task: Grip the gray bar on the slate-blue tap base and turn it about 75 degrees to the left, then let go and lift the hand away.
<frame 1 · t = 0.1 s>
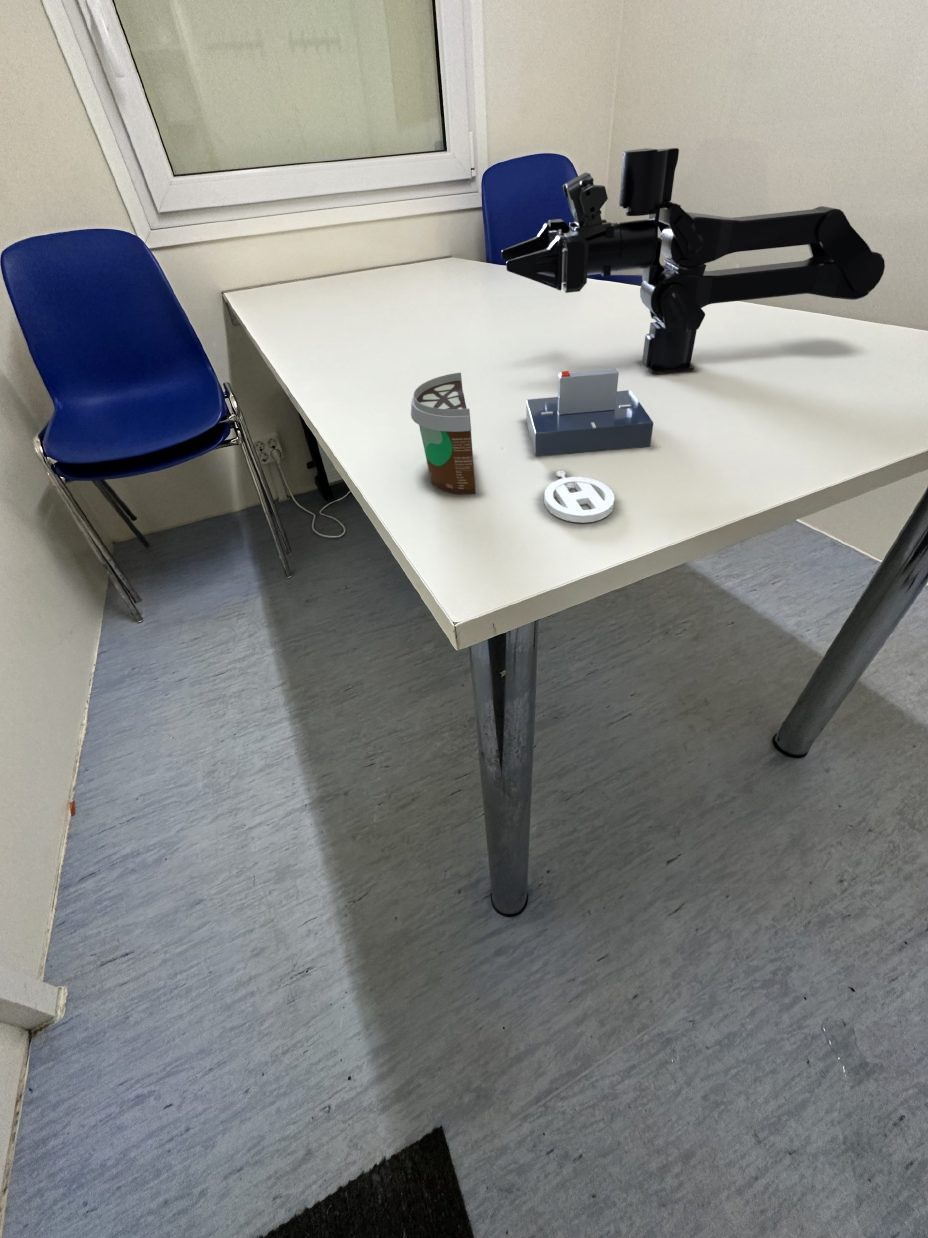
hand: (504, 260, 76), 17 cm above the table, tool horizontal, fingers open, 9 cm apart
pendant: (573, 497, 59), on the table
food container: (446, 479, 65), on the table
tap base: (584, 433, 71), on the table
gray bar: (587, 390, 67), point 5 cm above the table, hinge at 0.0°
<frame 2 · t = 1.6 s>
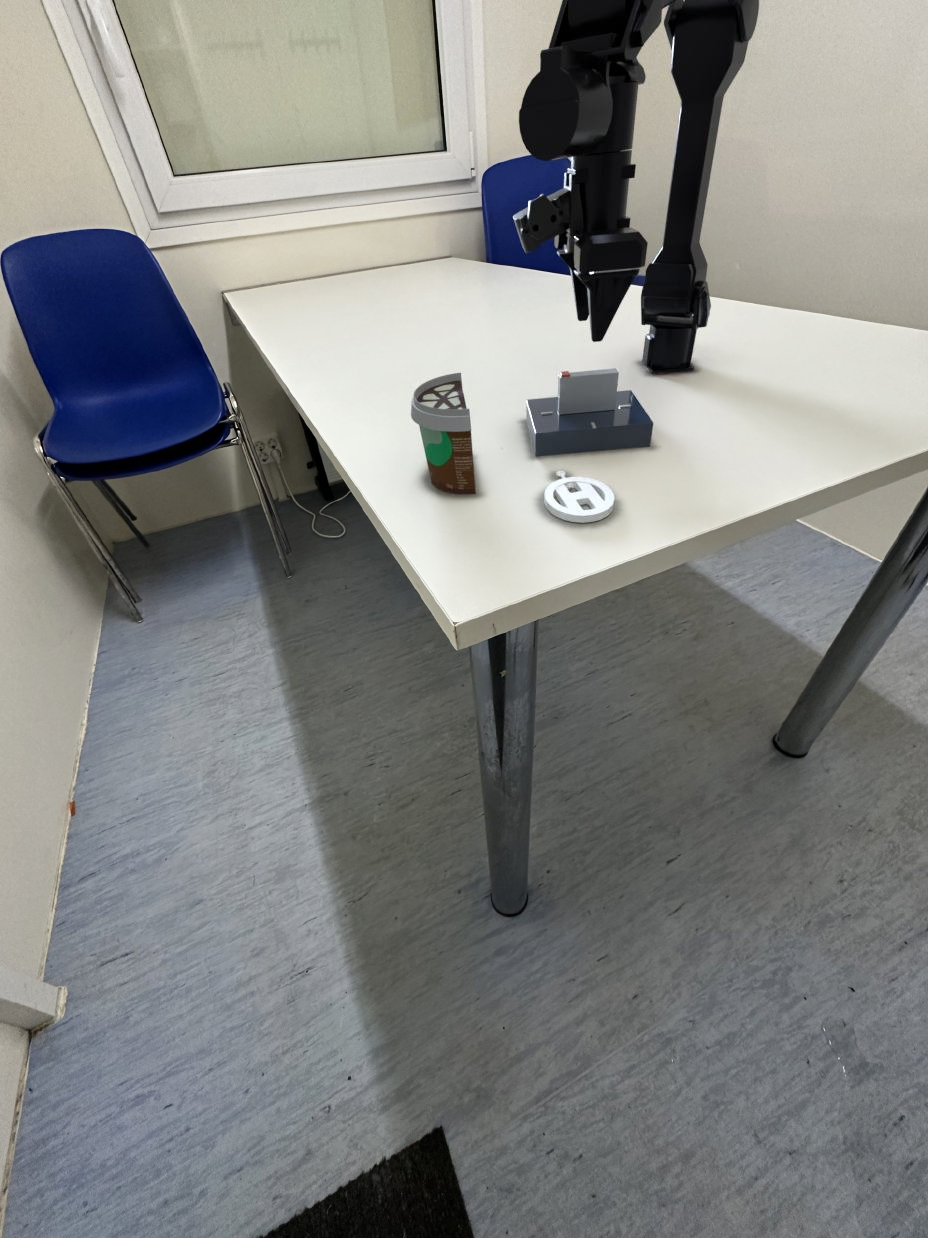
hand: (589, 330, 63), 12 cm above the table, tool pointing down, fingers open, 9 cm apart
nothing on the table moved.
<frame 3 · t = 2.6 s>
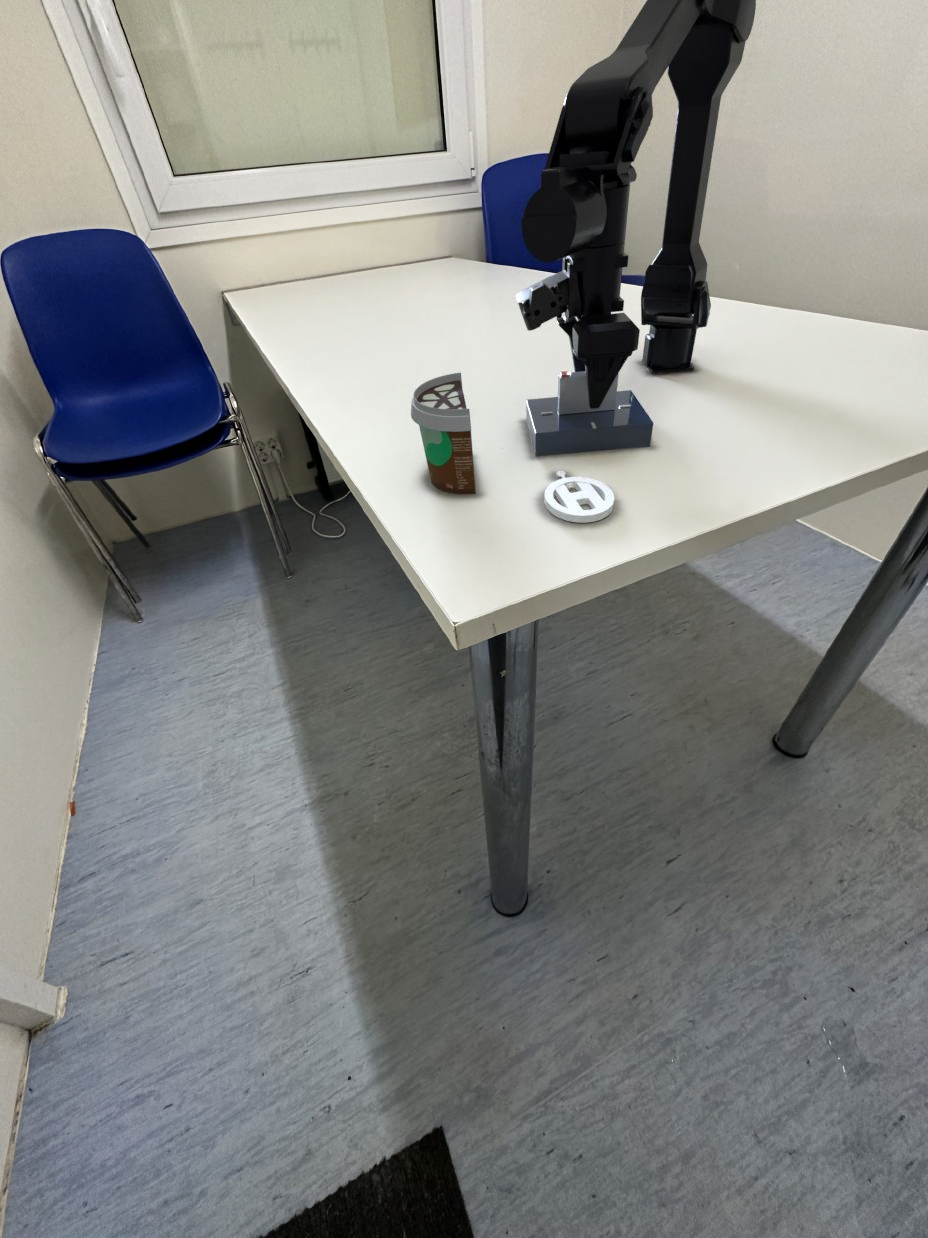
hand: (587, 393, 67), 5 cm above the table, tool pointing down, fingers open, 9 cm apart
nothing on the table moved.
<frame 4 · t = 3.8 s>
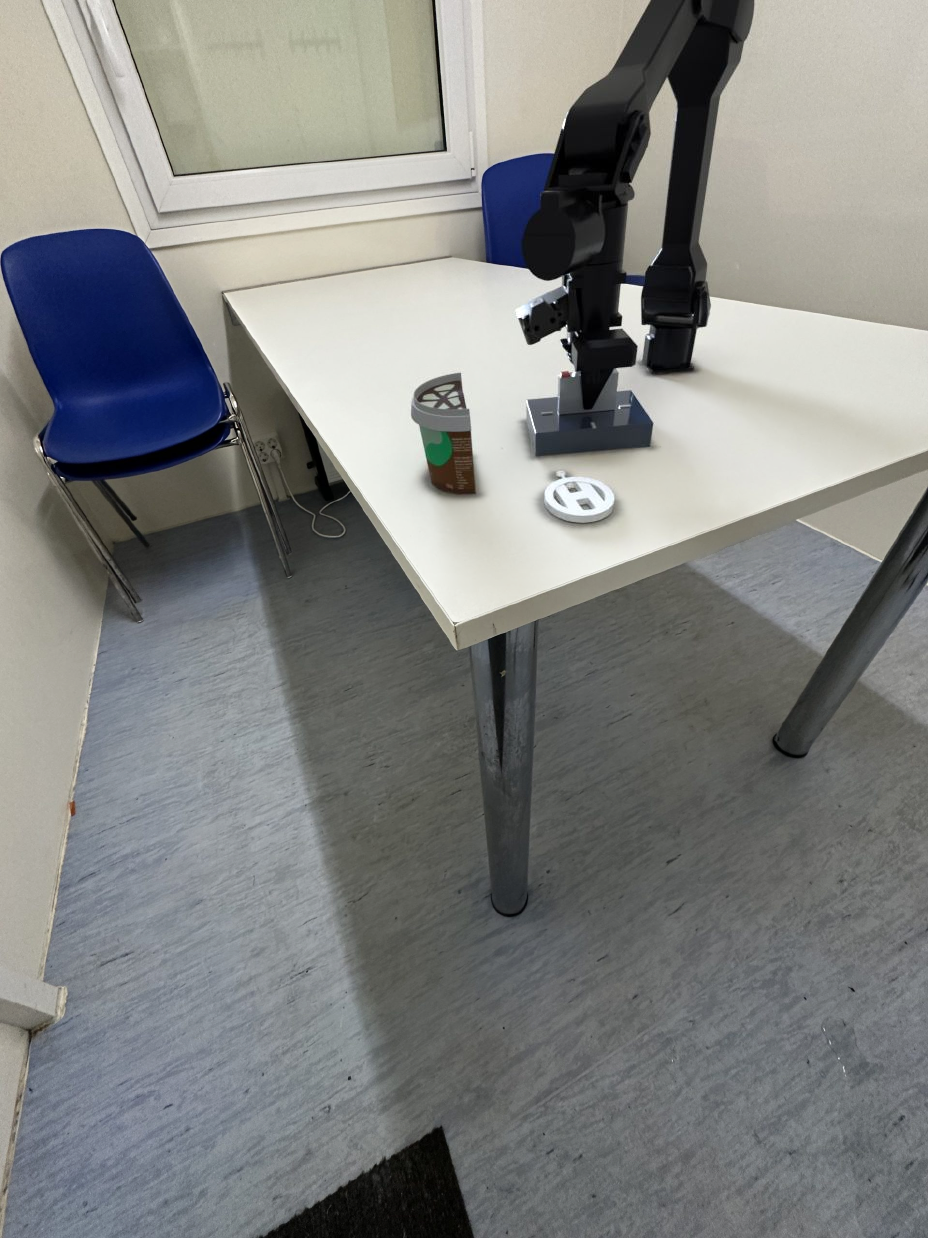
hand: (586, 406, 68), 4 cm above the table, tool pointing down, fingers closed on gray bar, 2 cm apart
gray bar: (587, 390, 67), point 5 cm above the table, hinge at 0.0°, touching gripper
everything else where it was.
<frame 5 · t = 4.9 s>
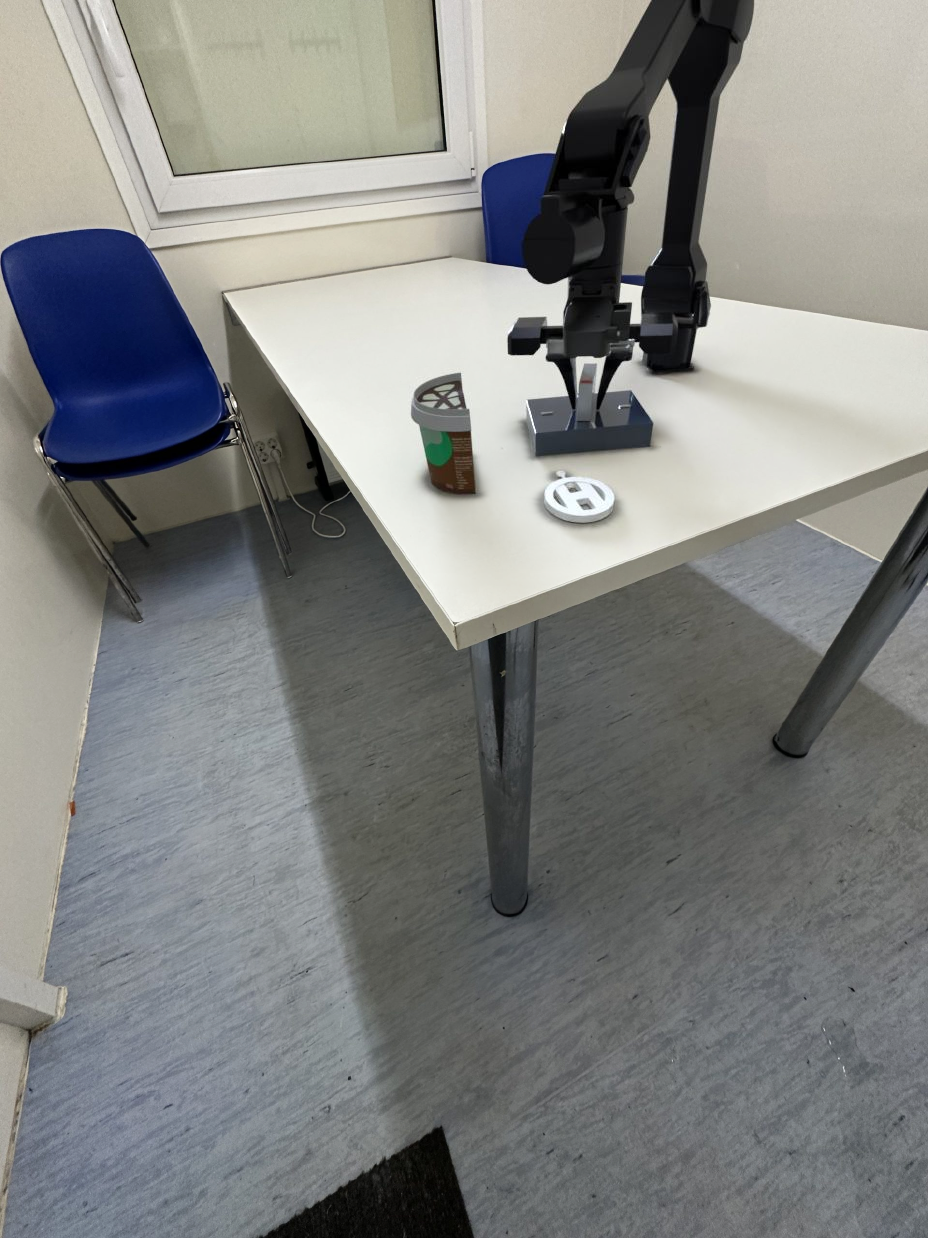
hand: (585, 408, 69), 3 cm above the table, tool pointing down, fingers open, 3 cm apart
gray bar: (587, 390, 67), point 5 cm above the table, hinge at 74.9°
everything else where it was.
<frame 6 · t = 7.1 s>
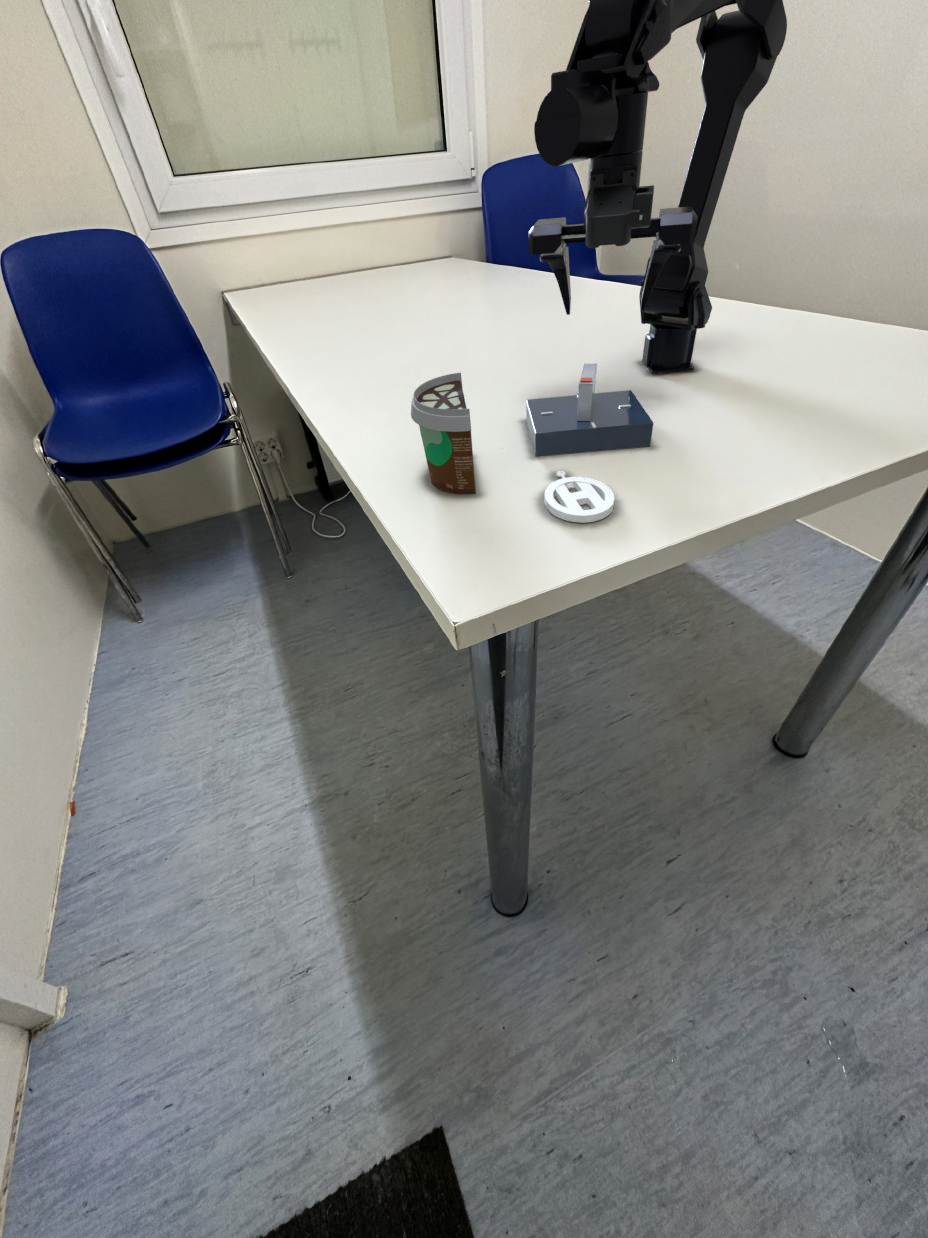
hand: (604, 312, 70), 12 cm above the table, tool pointing down, fingers open, 9 cm apart
nothing on the table moved.
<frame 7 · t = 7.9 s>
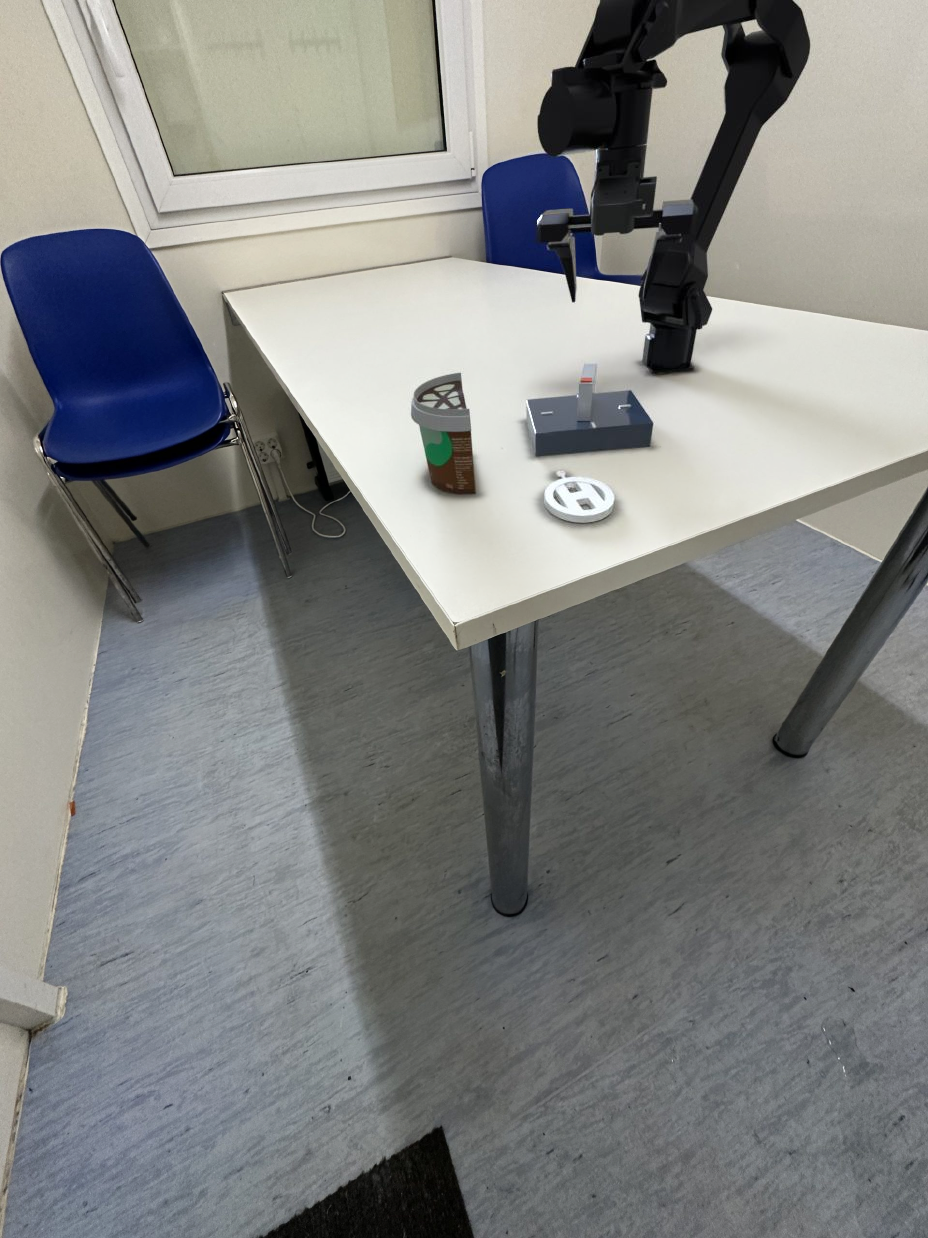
hand: (608, 300, 73), 12 cm above the table, tool pointing down, fingers open, 9 cm apart
nothing on the table moved.
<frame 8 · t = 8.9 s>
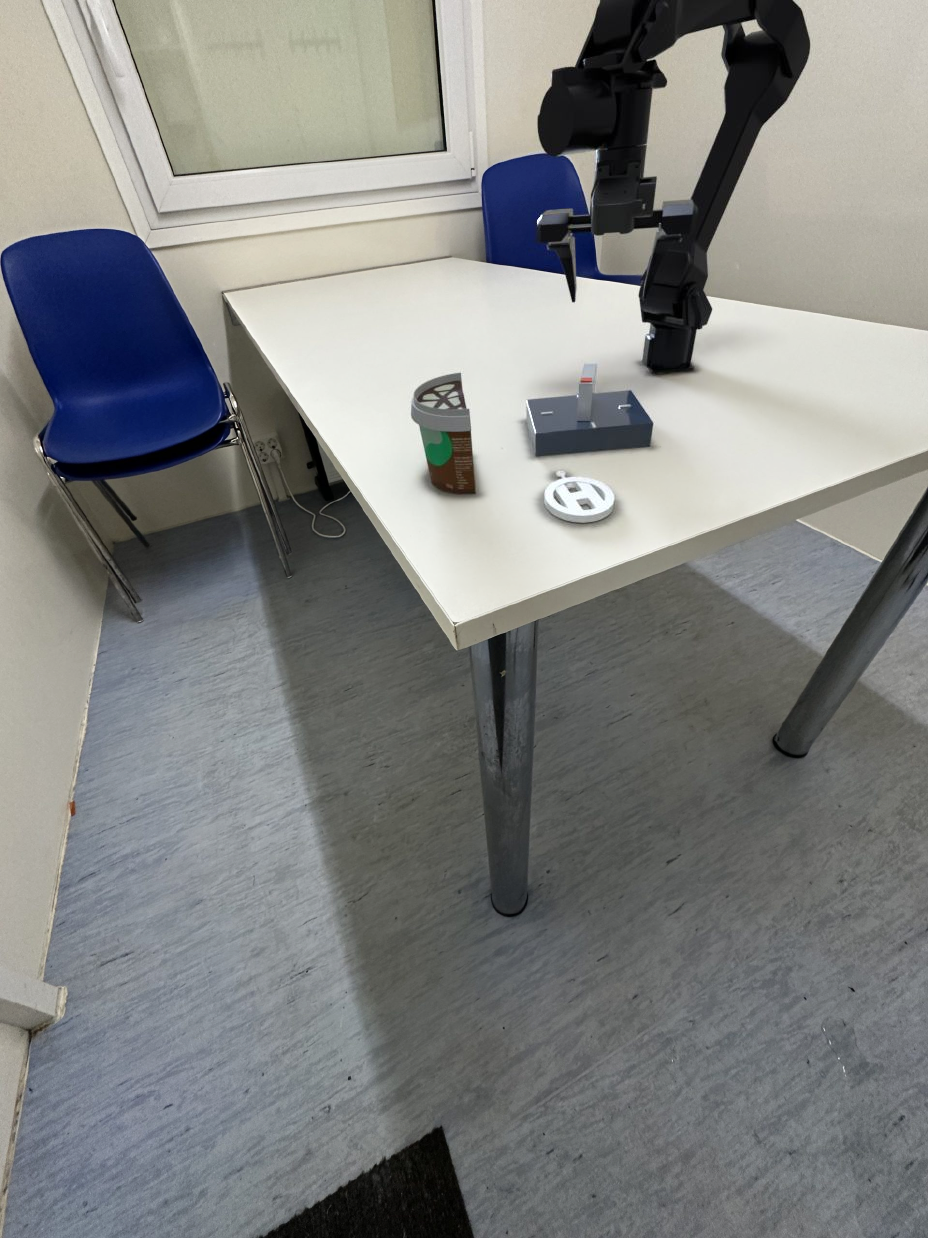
hand: (608, 300, 73), 12 cm above the table, tool pointing down, fingers open, 9 cm apart
nothing on the table moved.
at the end: gray bar at +75° (first picture: +0°) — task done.
